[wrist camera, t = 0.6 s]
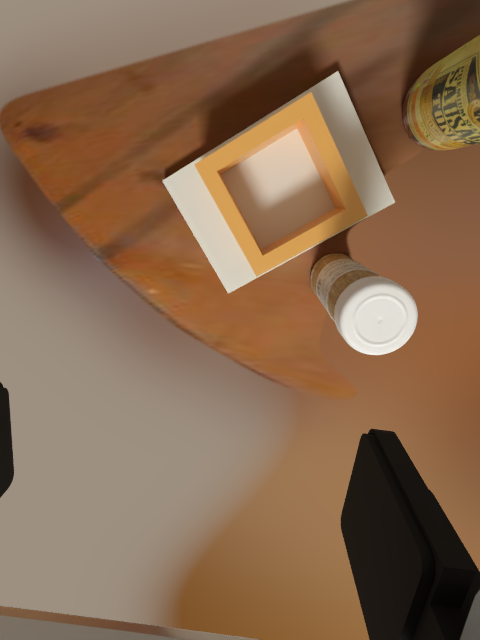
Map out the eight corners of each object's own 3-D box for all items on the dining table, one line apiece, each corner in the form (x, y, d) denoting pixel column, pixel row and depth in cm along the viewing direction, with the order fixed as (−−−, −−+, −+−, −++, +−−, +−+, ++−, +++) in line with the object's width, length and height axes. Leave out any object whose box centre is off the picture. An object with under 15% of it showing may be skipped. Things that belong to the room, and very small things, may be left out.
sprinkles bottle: (354, 303, 36) (411, 361, 23) (305, 299, 36) (334, 354, 23) (363, 253, 35) (428, 285, 22) (312, 249, 35) (347, 278, 22)
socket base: (335, 74, 31) (350, 51, 26) (391, 202, 33) (414, 202, 29) (164, 181, 33) (150, 178, 29) (228, 291, 36) (225, 305, 31)
